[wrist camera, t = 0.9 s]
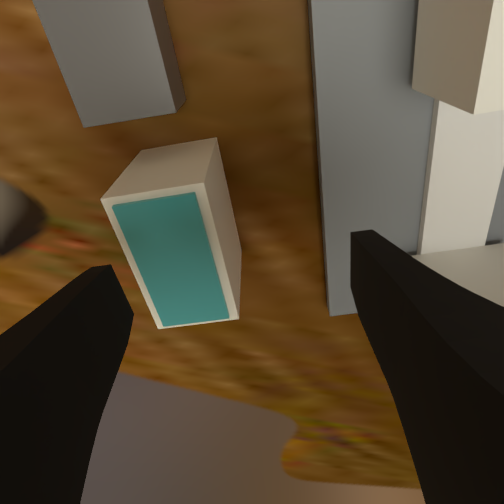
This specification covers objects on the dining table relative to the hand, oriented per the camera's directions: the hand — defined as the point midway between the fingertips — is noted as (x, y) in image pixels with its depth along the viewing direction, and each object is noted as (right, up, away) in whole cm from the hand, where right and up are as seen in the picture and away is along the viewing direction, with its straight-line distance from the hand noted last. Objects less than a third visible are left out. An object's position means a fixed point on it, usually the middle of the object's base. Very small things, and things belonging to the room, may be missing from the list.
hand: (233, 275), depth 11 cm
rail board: (+11, +5, +8) cm, 15 cm away
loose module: (-3, +3, +9) cm, 10 cm away
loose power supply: (-5, +10, +5) cm, 12 cm away
